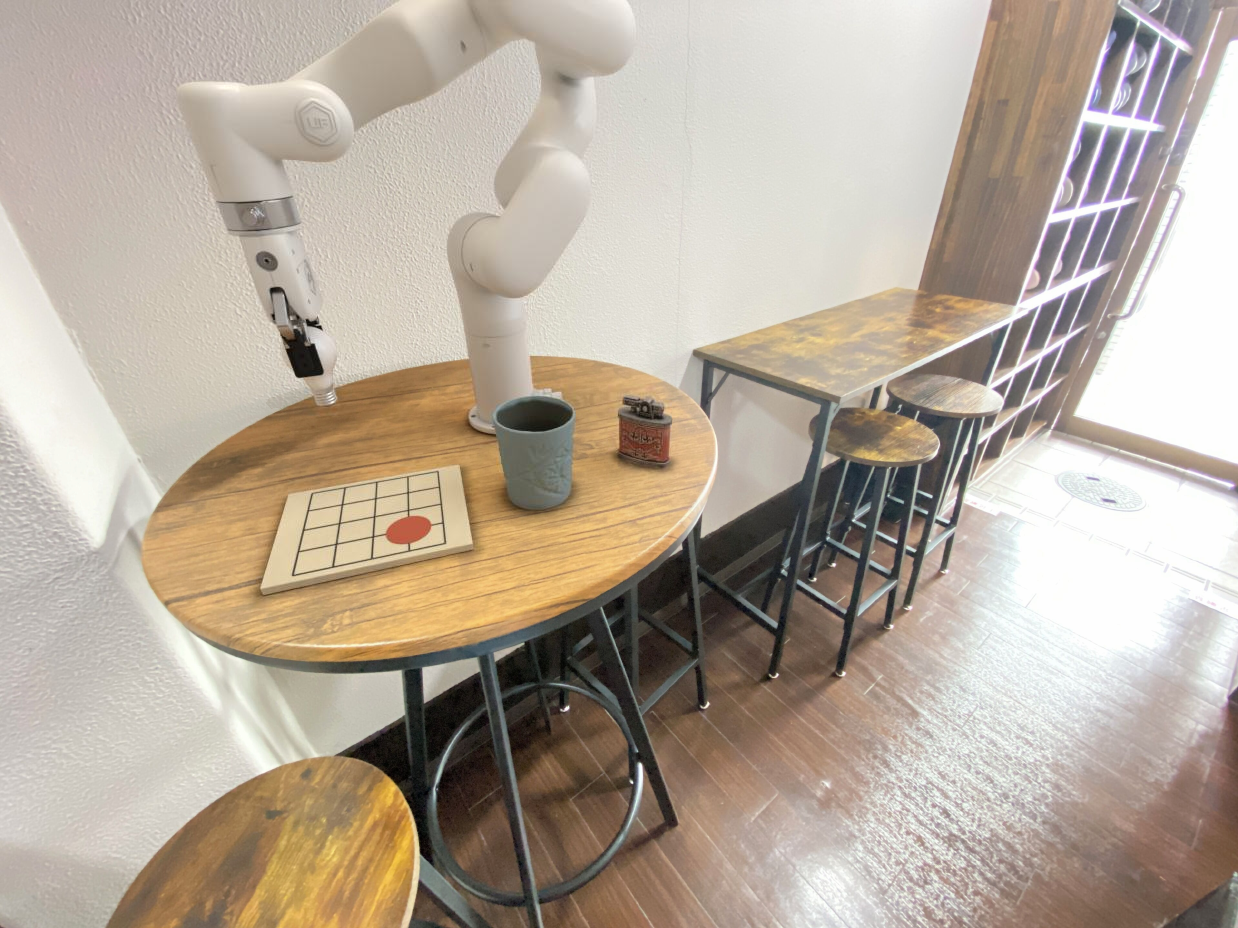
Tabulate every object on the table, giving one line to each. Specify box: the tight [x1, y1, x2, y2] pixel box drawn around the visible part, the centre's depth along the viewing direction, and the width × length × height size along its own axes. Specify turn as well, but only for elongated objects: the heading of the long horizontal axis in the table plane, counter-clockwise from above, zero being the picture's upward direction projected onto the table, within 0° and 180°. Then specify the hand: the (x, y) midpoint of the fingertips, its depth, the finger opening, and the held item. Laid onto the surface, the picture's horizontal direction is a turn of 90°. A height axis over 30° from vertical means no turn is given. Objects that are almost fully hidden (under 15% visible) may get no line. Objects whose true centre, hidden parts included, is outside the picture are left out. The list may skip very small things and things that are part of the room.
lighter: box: [617, 394, 673, 469], centre depth 77 cm, size 8×3×10 cm, turn 65°
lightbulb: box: [279, 326, 339, 408], centre depth 70 cm, size 6×6×11 cm
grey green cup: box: [492, 396, 576, 511], centre depth 69 cm, size 10×10×12 cm
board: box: [259, 464, 474, 596], centre depth 66 cm, size 22×18×1 cm
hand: (313, 364), depth 70 cm, fingers closed on lightbulb, 6 cm apart
